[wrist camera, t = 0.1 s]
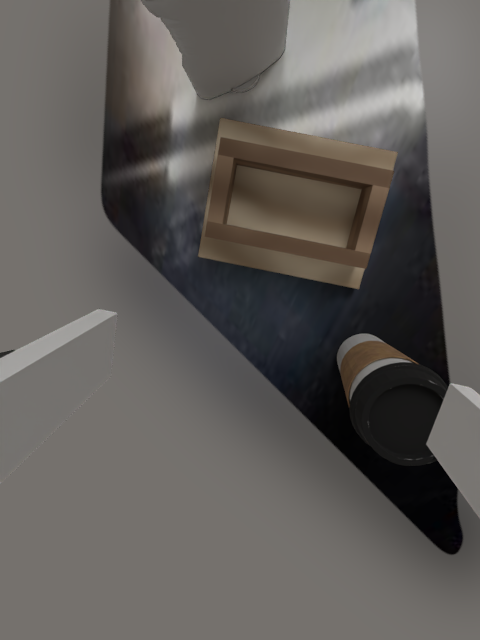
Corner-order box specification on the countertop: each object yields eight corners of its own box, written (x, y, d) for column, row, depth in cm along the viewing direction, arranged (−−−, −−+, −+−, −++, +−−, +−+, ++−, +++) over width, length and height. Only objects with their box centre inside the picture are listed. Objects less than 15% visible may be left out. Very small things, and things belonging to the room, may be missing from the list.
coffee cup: (352, 401, 44) (394, 488, 29) (311, 350, 43) (335, 413, 28) (412, 363, 42) (488, 435, 28) (372, 308, 41) (430, 353, 26)
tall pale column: (280, 18, 34) (302, -321, 13) (297, 61, 35) (345, -192, 14) (185, 77, 36) (69, -136, 15) (203, 117, 37) (119, -32, 16)
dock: (221, 122, 37) (214, 104, 32) (392, 155, 37) (414, 143, 31) (200, 255, 41) (190, 259, 35) (355, 286, 40) (368, 295, 35)
